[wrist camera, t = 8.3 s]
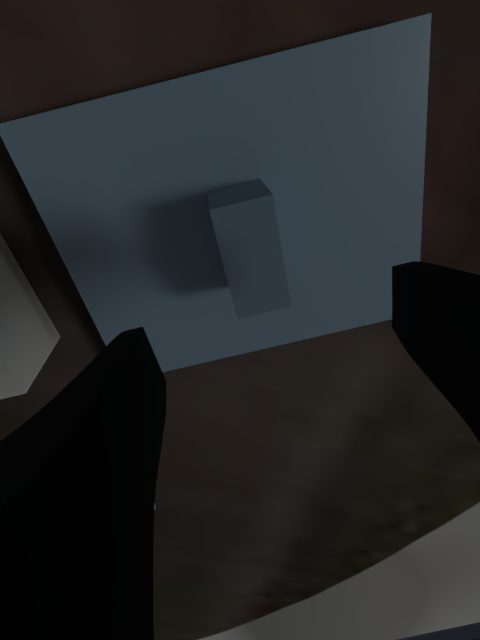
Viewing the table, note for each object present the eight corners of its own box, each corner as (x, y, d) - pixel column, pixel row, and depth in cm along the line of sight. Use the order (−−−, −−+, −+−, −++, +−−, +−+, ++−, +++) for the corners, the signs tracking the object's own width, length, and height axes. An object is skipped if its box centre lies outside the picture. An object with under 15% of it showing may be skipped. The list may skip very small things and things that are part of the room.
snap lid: (401, 297, 23) (452, 346, 19) (129, 361, 24) (111, 424, 19) (406, 22, 16) (492, -12, 11) (16, 123, 17) (-57, 130, 12)
